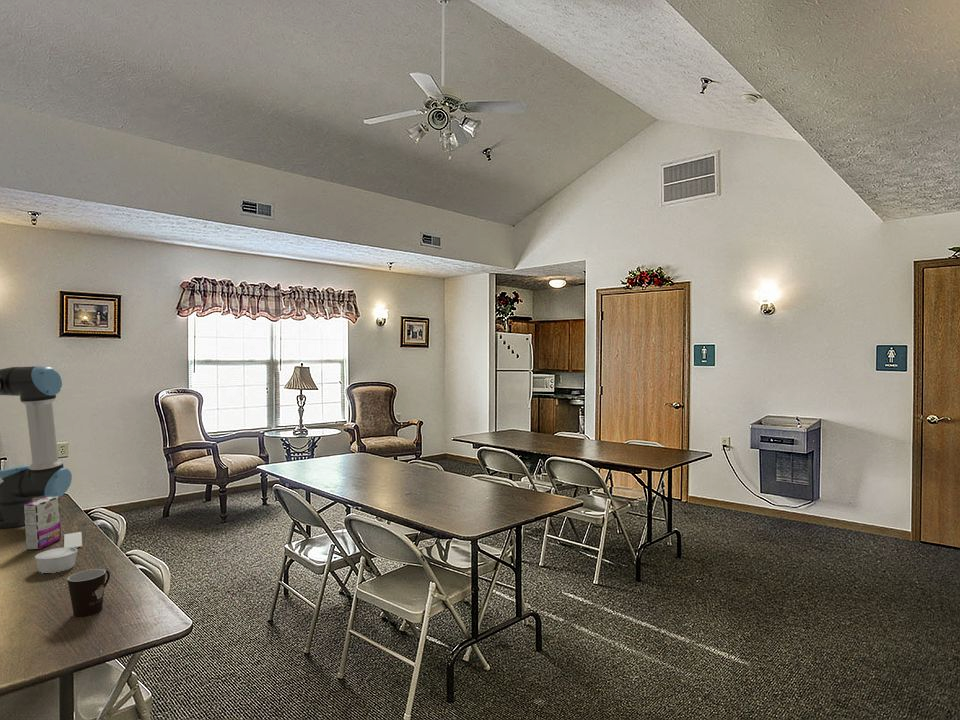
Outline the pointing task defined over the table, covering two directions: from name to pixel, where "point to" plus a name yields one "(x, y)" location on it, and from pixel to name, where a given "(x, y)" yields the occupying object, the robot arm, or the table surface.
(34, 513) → the candy bar box
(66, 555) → the ramekin
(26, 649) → the table surface
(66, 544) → the mat
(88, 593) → the coffee mug
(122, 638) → the table surface
